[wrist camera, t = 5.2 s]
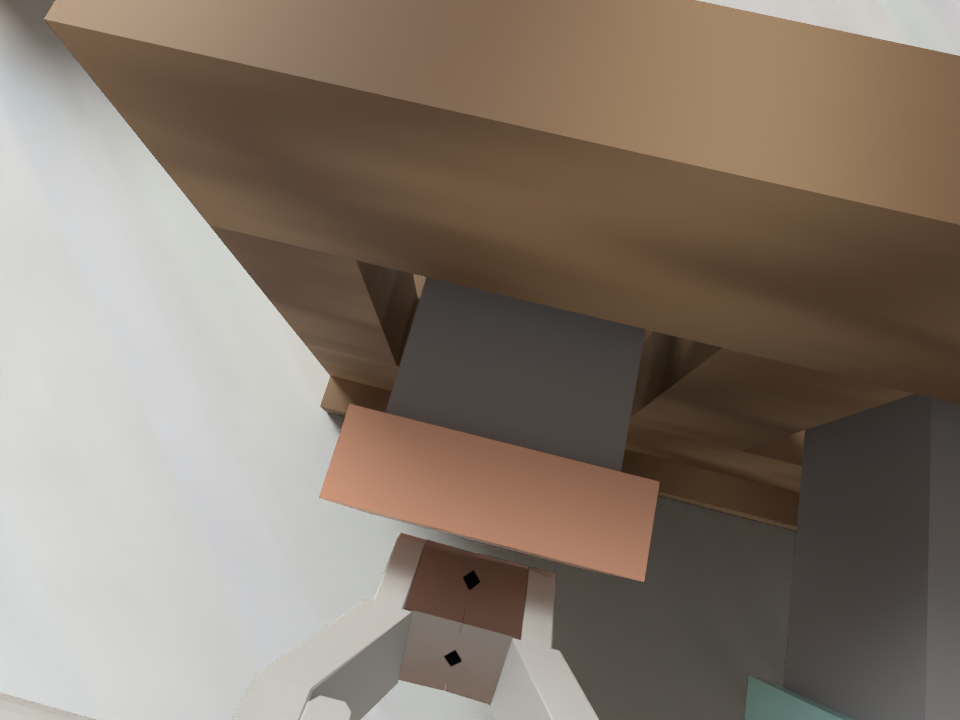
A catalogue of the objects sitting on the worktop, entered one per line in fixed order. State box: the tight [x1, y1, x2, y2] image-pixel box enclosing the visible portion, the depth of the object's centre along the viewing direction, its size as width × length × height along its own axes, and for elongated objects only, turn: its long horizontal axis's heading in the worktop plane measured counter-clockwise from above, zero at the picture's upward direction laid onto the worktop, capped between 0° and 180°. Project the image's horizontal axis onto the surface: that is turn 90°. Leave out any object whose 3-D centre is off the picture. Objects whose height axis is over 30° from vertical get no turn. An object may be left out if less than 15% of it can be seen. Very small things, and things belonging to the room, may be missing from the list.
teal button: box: [744, 394, 960, 720], centre depth 11 cm, size 5×8×5 cm, turn 166°
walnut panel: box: [44, 0, 960, 530], centre depth 13 cm, size 20×5×14 cm, turn 76°
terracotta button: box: [319, 277, 660, 582], centre depth 12 cm, size 5×8×5 cm, turn 166°
